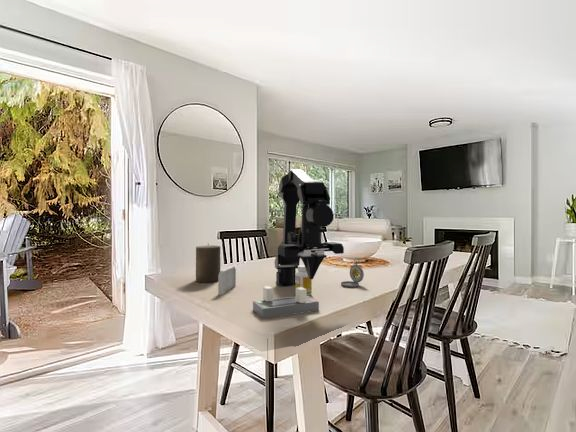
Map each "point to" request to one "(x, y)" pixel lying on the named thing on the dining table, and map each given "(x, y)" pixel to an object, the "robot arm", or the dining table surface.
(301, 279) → the supplement bottle
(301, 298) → the block
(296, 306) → the panel
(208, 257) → the pillar candle
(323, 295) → the dining table surface
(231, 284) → the light switch
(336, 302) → the dining table surface
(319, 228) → the robot arm
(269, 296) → the block
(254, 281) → the dining table surface
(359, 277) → the pocket watch
